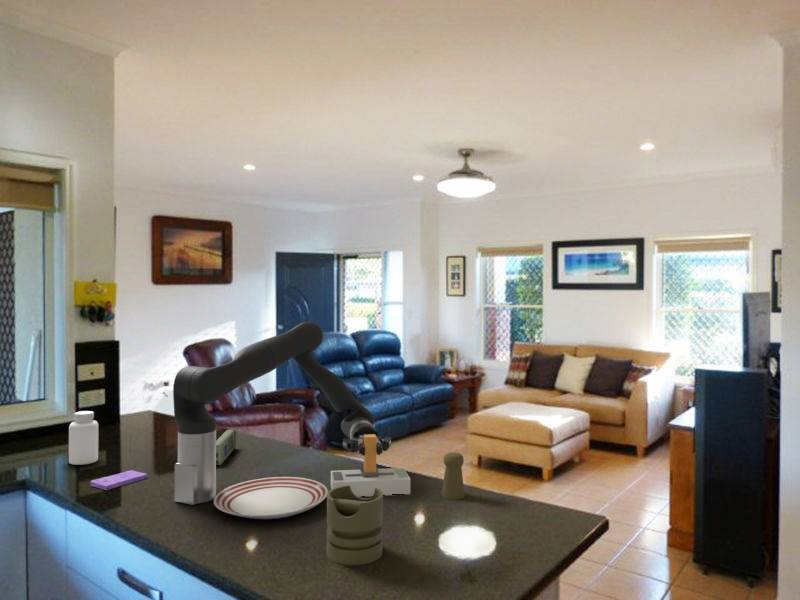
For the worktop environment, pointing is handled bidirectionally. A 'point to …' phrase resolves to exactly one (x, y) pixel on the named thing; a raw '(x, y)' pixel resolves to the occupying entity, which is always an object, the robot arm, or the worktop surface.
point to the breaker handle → (370, 456)
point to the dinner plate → (271, 497)
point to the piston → (354, 526)
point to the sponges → (118, 480)
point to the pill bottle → (83, 439)
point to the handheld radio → (224, 446)
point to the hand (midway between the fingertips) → (371, 451)
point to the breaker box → (373, 481)
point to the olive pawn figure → (453, 477)
